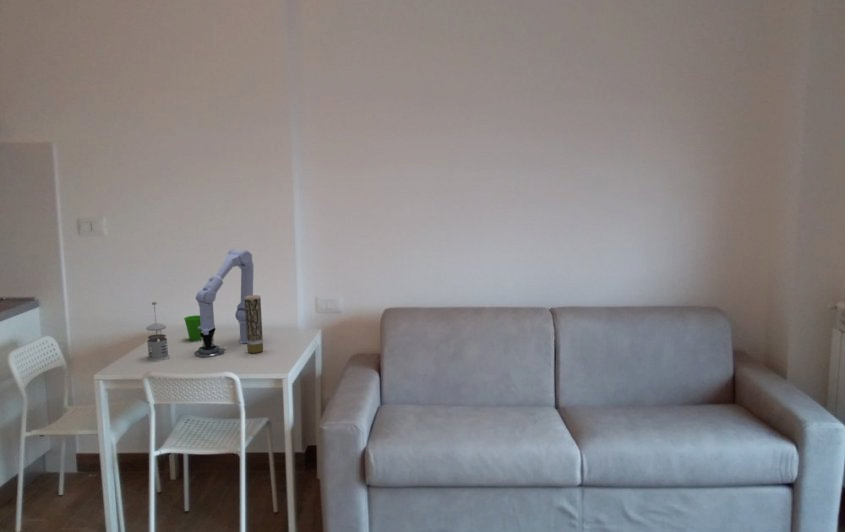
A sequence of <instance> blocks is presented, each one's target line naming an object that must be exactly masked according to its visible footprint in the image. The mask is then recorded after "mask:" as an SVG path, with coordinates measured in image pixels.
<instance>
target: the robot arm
mask: <svg viewBox="0 0 845 532" xmlns="http://www.w3.org/2000/svg"><path fill="white" fill-rule="evenodd" d="M233 267H238V268H239V269H240V274H241V275H240V277H241V278H240V279H241V280H240V303H239V304H238V305H236V311H235V319H236V321H238V323H239V342H238V343H239V344H247V333H246V315H245V297H246V296H251V295H254V263H253V254H252V253H251V252H250V251H249V250H247V249H246V250H243V249H235V248H232V249H229V250H228V252H227V254H226V255H225V260H224V261H223V264H222V265H221V267H220V268H219V270H218V271H217V273H216V275H212V276H211V277H209V278H208V281H207V283H206V284H205V285H204V286H203V287H202V289H200V290H199V291H198V292H197V293H196V296H195V300H196V301H197V303H198V306H199V315H200V322H201V326H199V327H198V329H201V330H202V333H200V335H201V340H202V339H203V340H202V342H203V341H204V344H205V347H206V348H211V343H212V337H213V338H214V335H215V331H216V325H215V316H214V315H215V314H214V302H215V300H216V297H217V293H218V291H219V290H220V289H221V288H222V285H223V284H224V282H223V280H224V279H225V277H226V276H227V275H228V274H229V272H230V271H231V270H232V269H233Z"/></svg>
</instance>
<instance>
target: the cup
mask: <svg viewBox="0 0 845 532" xmlns="http://www.w3.org/2000/svg"><path fill="white" fill-rule="evenodd" d="M183 320H184V322H185V325H186V330H187V333H188V334H187V335H188V338H189V341H190V340H191V342H198V340H199V341H201V340H202V337H201V335H200V333H203V331H202V330H201V329H198V327H199V326H201V322H200V314H199V315H196V314H195V315H188V316H186V317H184V318H183ZM200 339H201V340H200Z"/></svg>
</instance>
